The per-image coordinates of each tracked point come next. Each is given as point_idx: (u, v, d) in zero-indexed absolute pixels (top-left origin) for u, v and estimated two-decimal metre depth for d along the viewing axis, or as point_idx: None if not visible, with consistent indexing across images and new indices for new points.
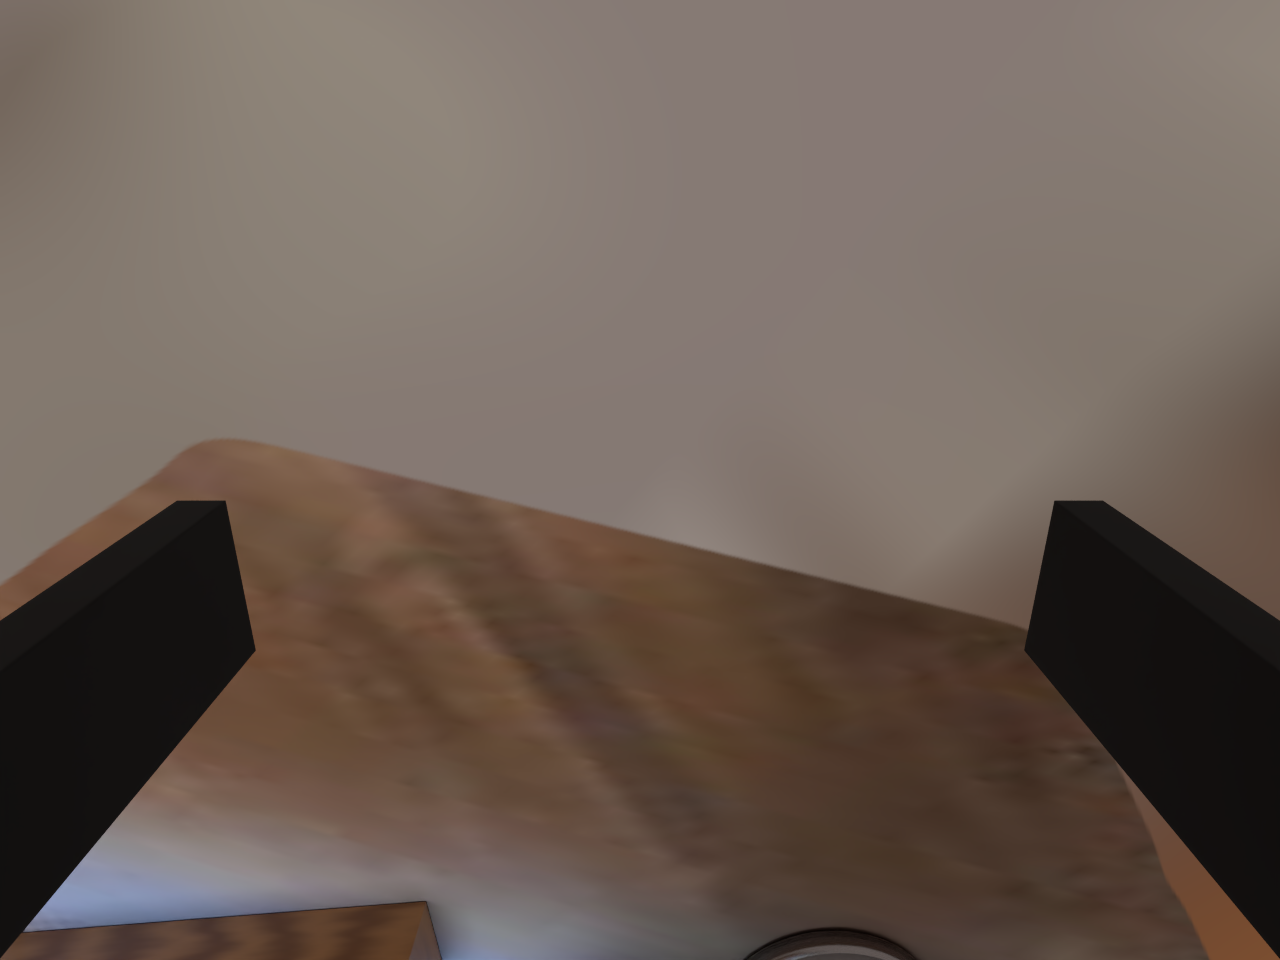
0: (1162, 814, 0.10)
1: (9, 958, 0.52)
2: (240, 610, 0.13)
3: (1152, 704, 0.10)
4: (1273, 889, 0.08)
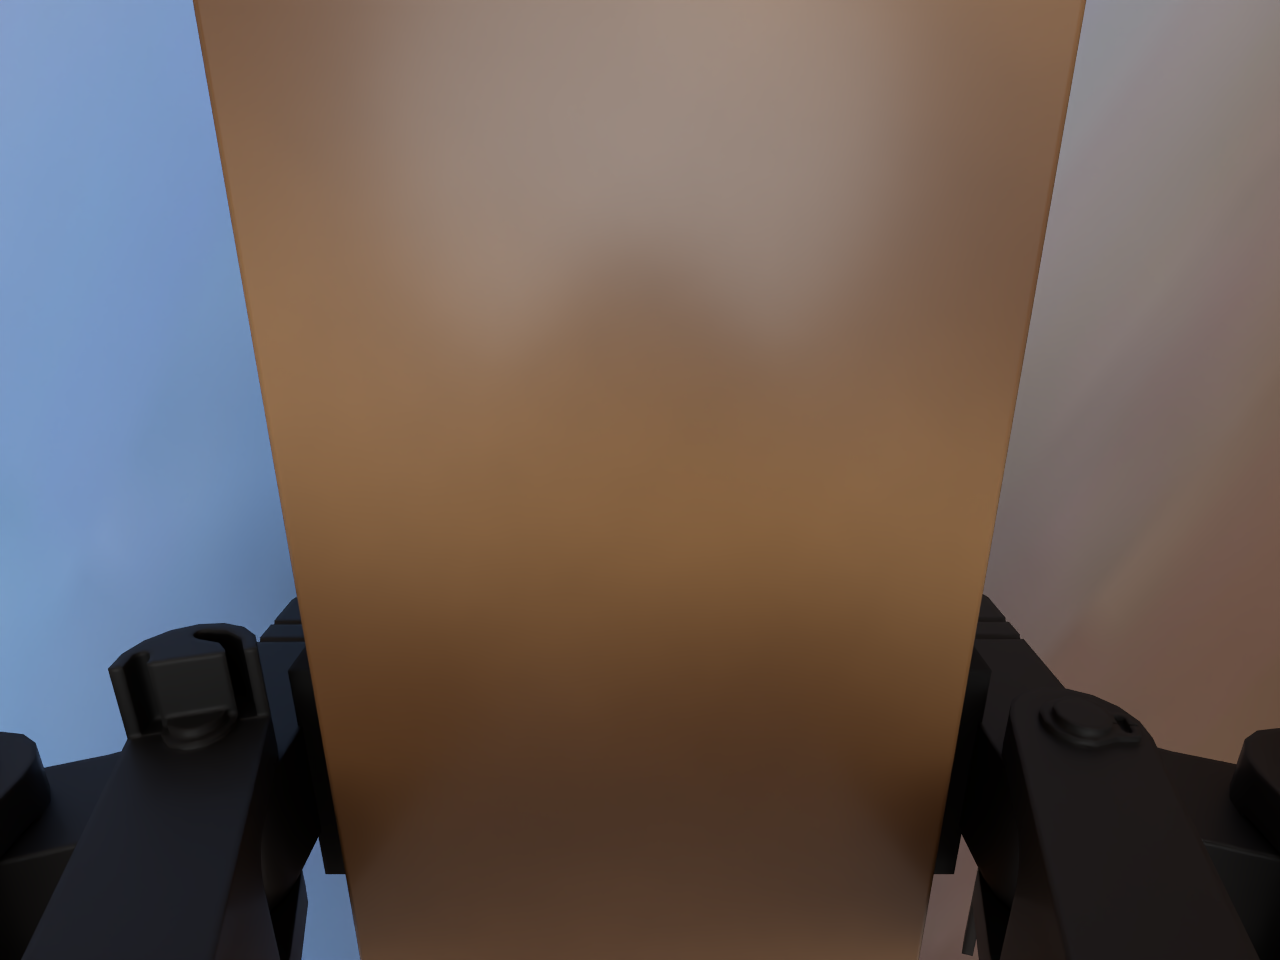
0: None
1: None
2: None
3: None
4: None
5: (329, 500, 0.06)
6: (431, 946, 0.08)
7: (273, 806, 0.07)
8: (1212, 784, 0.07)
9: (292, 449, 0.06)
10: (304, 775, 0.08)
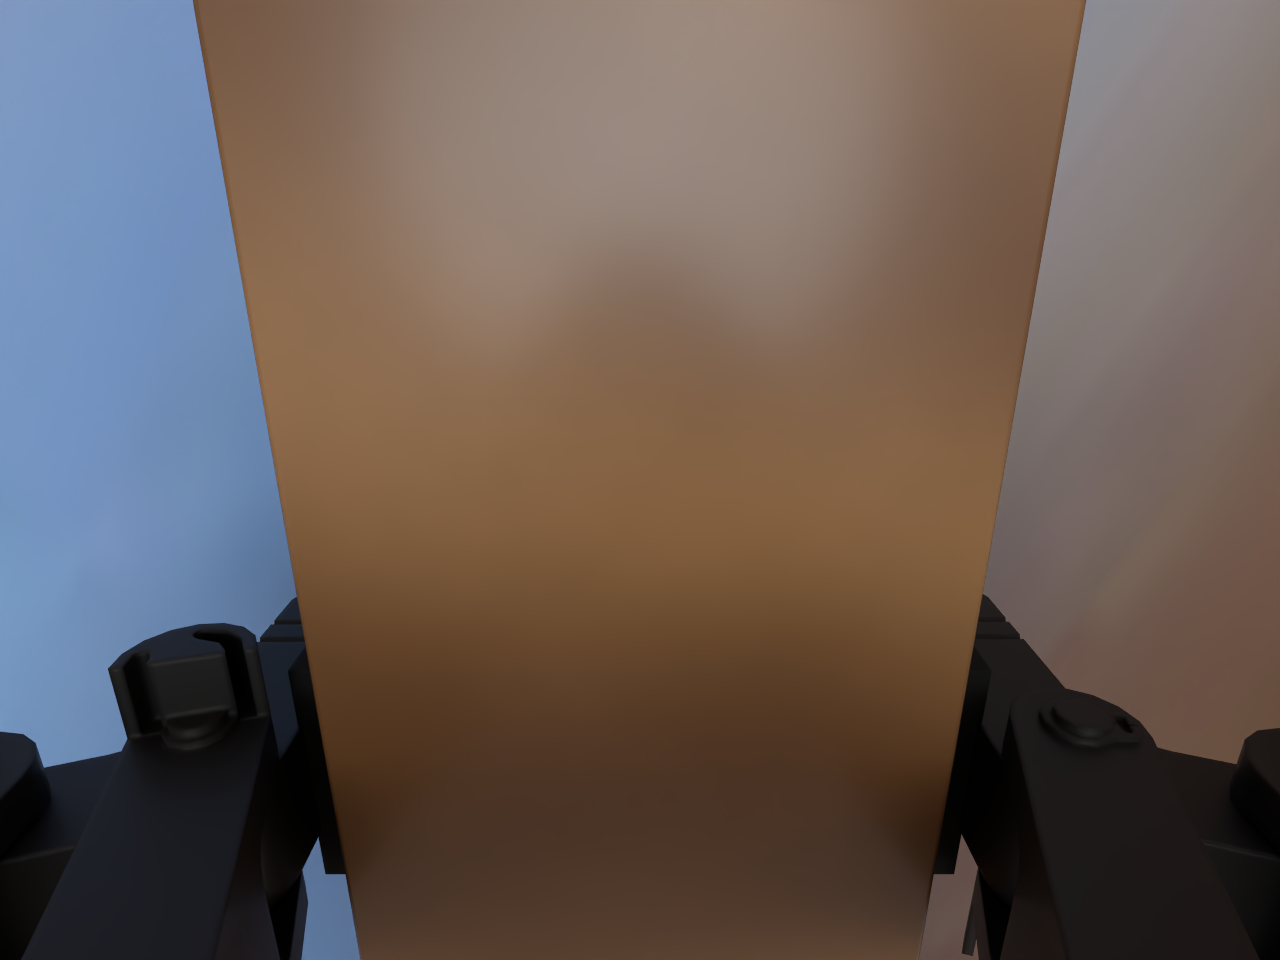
0: None
1: None
2: None
3: None
4: None
5: (330, 500, 0.06)
6: (430, 947, 0.08)
7: (273, 806, 0.07)
8: (1212, 784, 0.07)
9: (290, 449, 0.06)
10: (304, 775, 0.08)
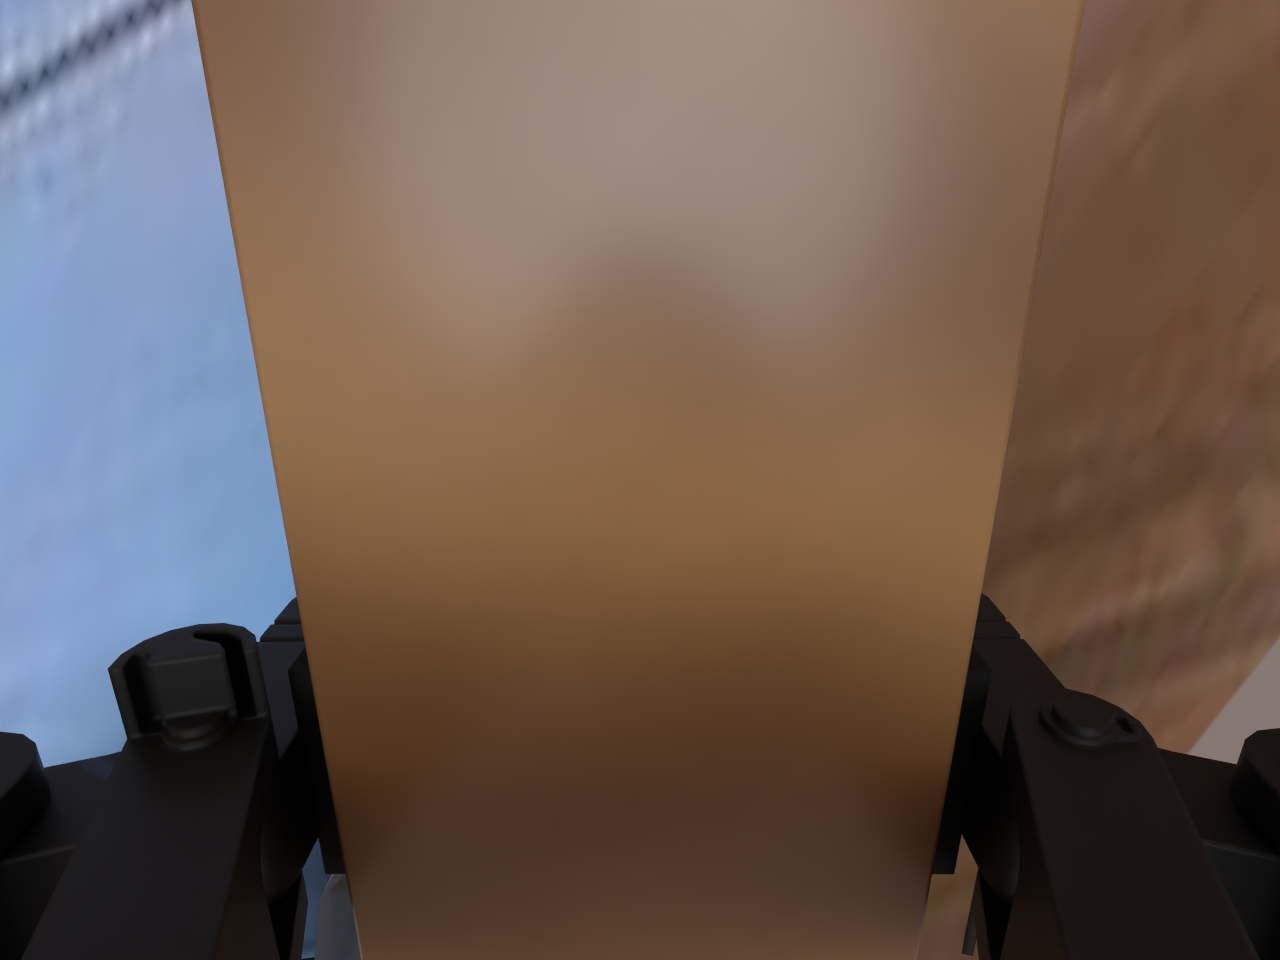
0: None
1: None
2: None
3: None
4: None
5: (327, 496, 0.06)
6: (430, 942, 0.08)
7: (273, 806, 0.07)
8: (1212, 784, 0.07)
9: (289, 445, 0.06)
10: (305, 775, 0.08)
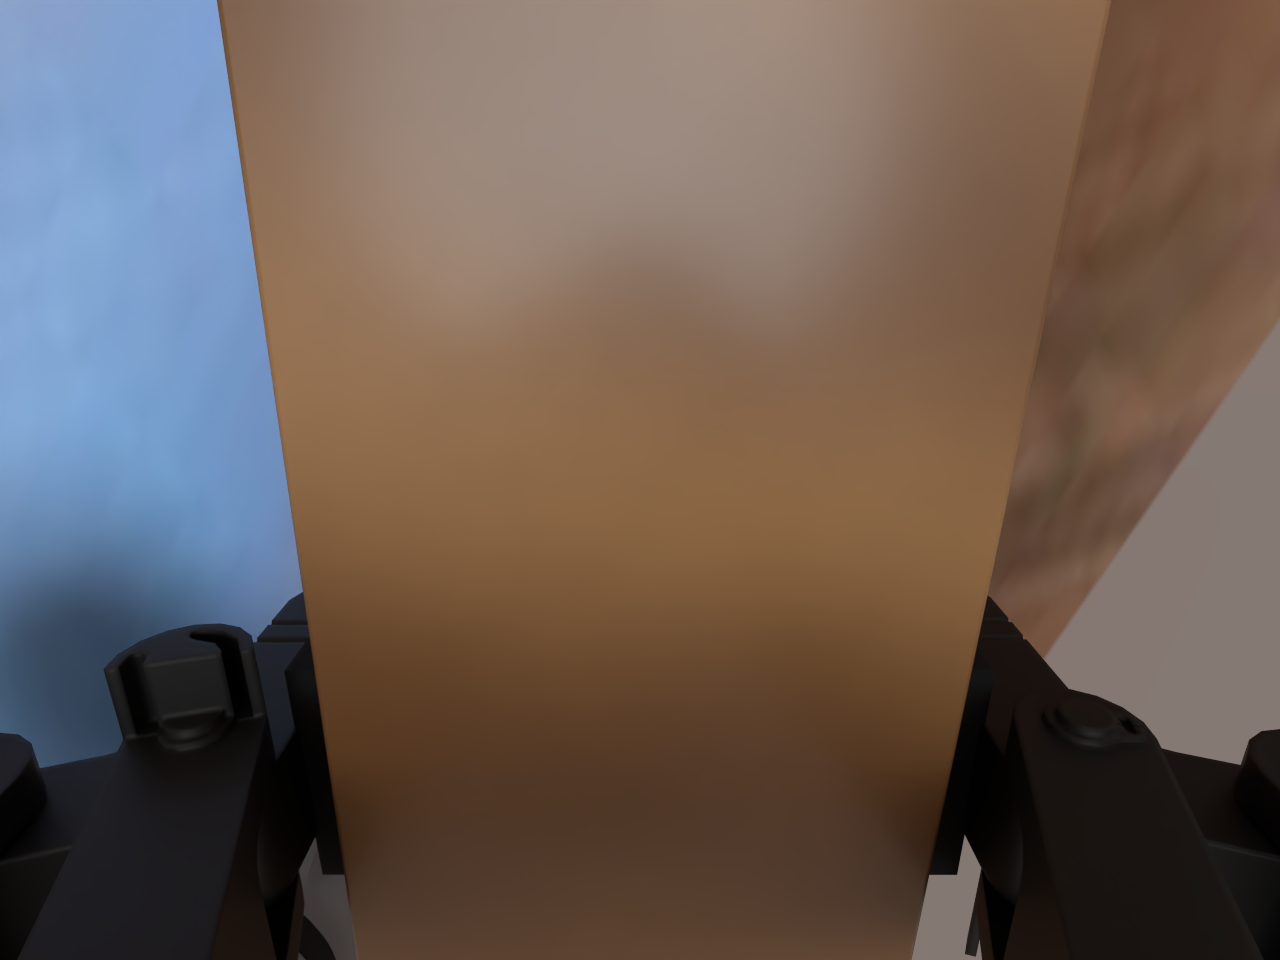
0: None
1: None
2: None
3: None
4: None
5: (337, 494, 0.06)
6: (426, 940, 0.08)
7: (269, 806, 0.07)
8: (1217, 784, 0.07)
9: (301, 442, 0.06)
10: (300, 775, 0.08)
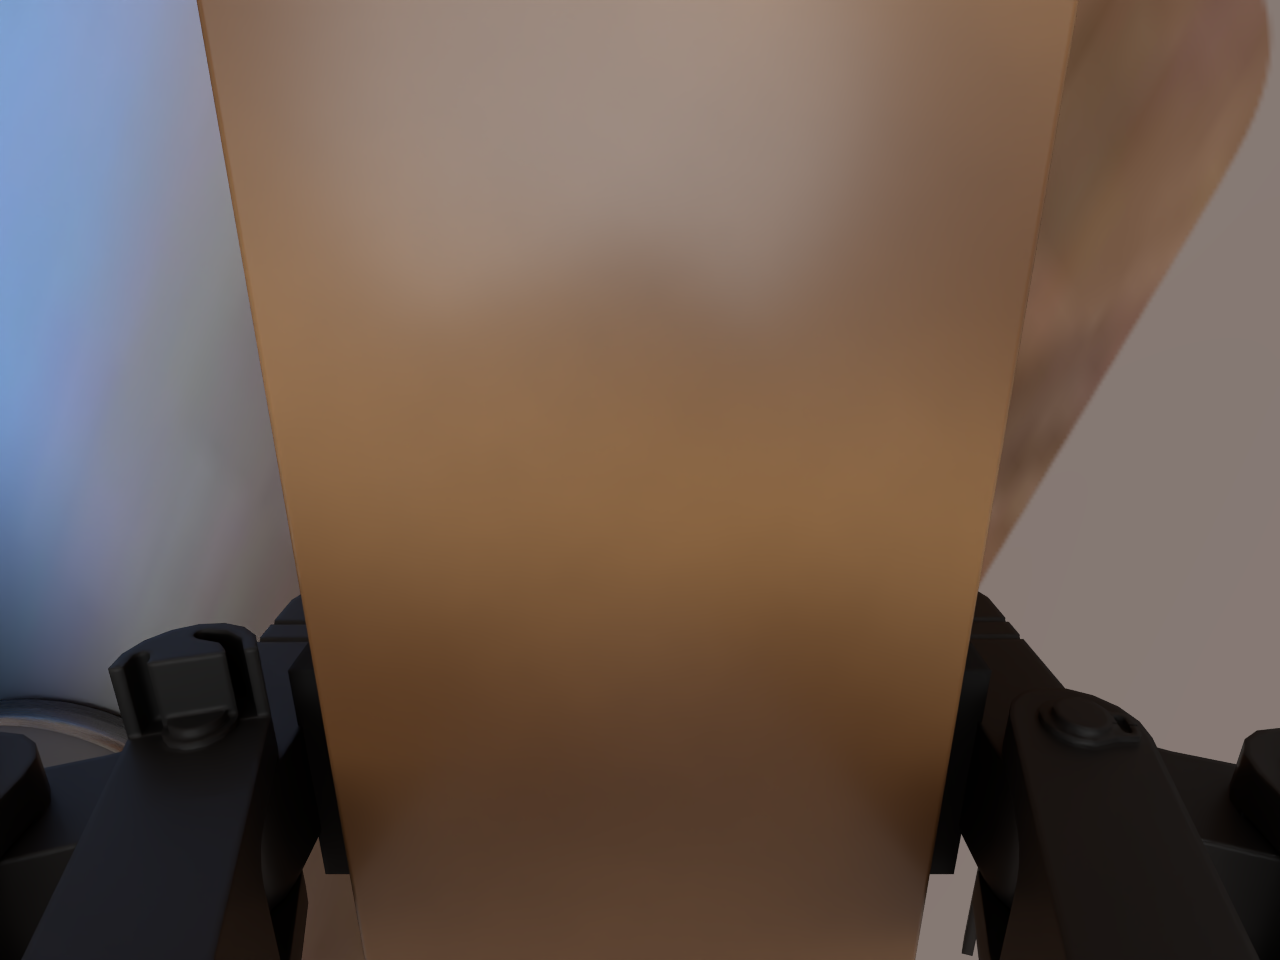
0: None
1: None
2: None
3: None
4: None
5: (332, 495, 0.06)
6: (432, 938, 0.08)
7: (273, 806, 0.07)
8: (1212, 784, 0.07)
9: (294, 443, 0.06)
10: (304, 775, 0.08)
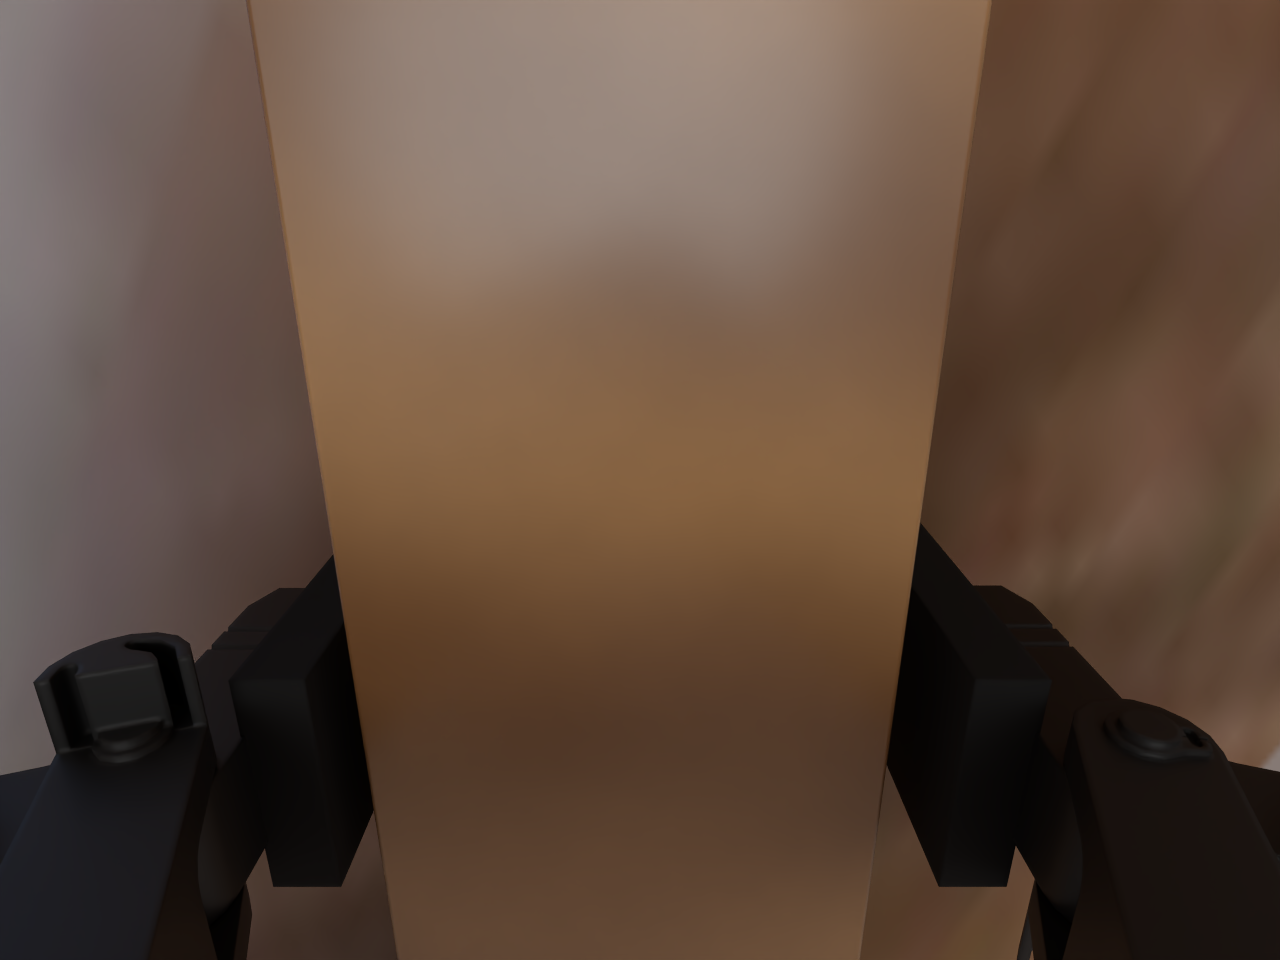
0: None
1: None
2: None
3: None
4: (908, 766, 0.10)
5: (361, 469, 0.07)
6: (445, 862, 0.09)
7: (212, 817, 0.07)
8: None
9: (331, 426, 0.07)
10: (247, 787, 0.08)
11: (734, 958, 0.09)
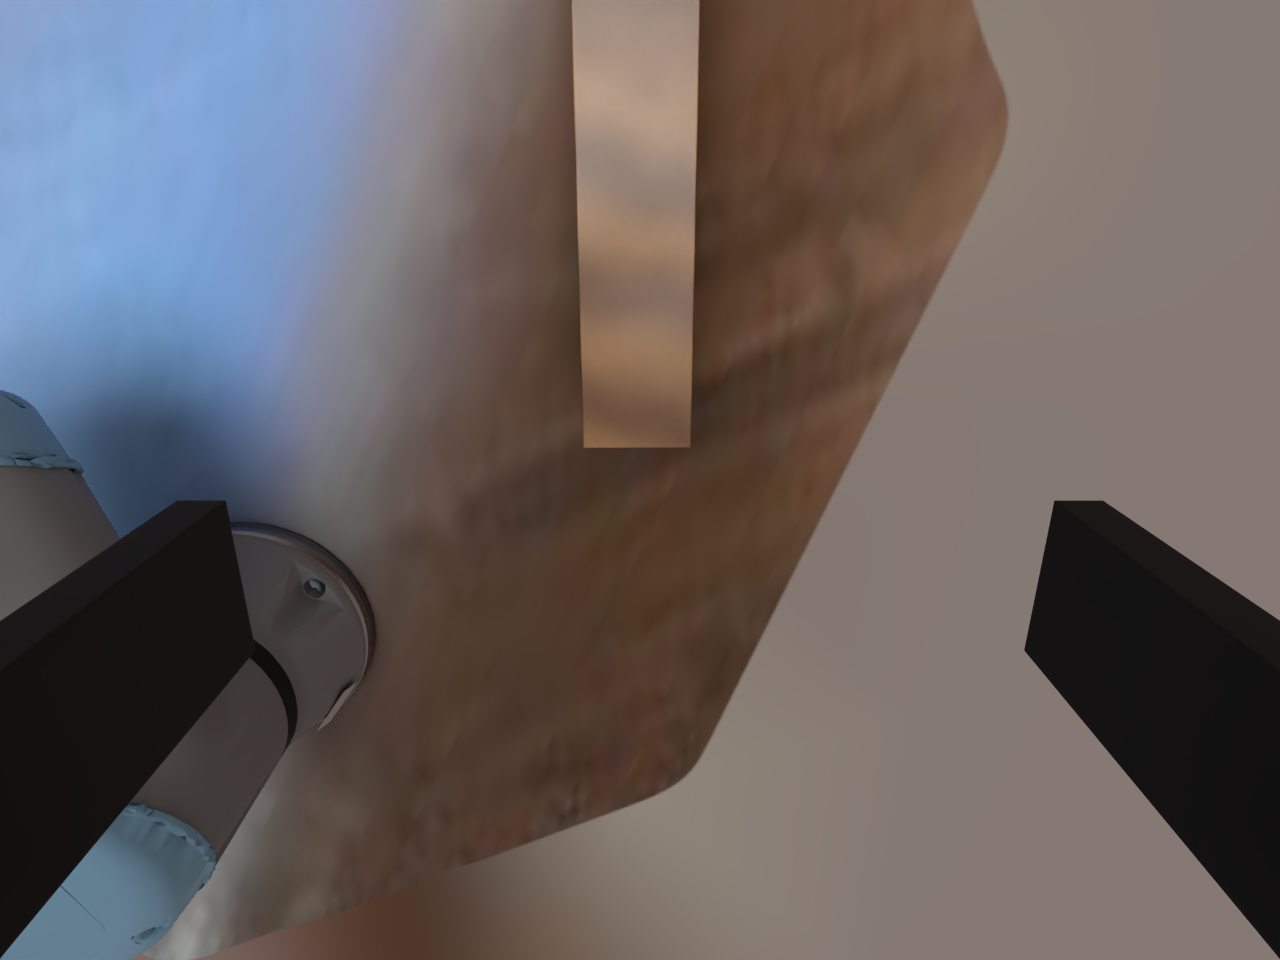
0: (1162, 814, 0.10)
1: None
2: (240, 610, 0.13)
3: (1152, 704, 0.10)
4: (1273, 889, 0.08)
5: (586, 240, 0.37)
6: (595, 340, 0.39)
7: None
8: None
9: (581, 231, 0.37)
10: None
11: (662, 369, 0.39)
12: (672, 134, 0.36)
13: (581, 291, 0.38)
